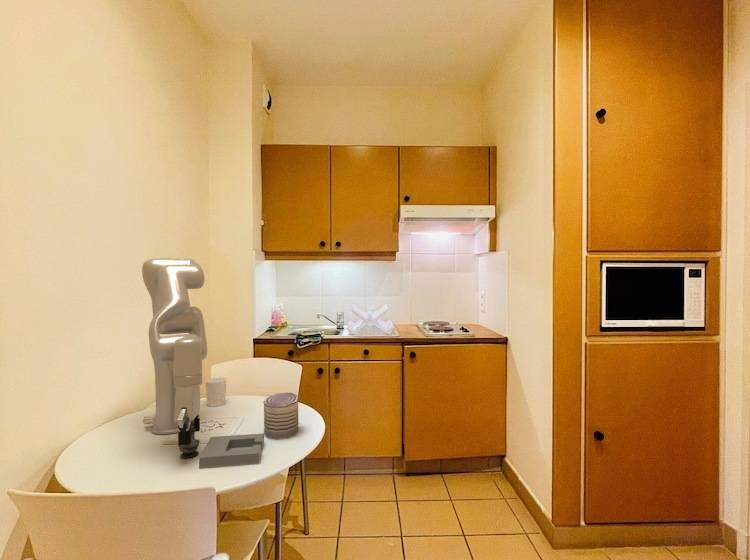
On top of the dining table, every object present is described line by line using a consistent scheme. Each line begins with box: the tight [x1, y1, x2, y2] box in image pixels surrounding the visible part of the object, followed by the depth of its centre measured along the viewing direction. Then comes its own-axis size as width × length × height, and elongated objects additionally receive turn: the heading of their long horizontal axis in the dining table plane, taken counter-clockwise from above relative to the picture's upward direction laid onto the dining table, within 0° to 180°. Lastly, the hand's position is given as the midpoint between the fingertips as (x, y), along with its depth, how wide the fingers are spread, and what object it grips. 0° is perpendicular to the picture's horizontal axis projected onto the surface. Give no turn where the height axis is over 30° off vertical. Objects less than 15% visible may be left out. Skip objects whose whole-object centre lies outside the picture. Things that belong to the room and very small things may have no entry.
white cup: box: [205, 376, 227, 408], centre depth 165 cm, size 8×8×10 cm
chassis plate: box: [198, 432, 265, 469], centre depth 120 cm, size 16×14×3 cm
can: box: [262, 392, 300, 441], centre depth 136 cm, size 11×11×12 cm
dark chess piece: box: [177, 420, 201, 460], centre depth 119 cm, size 6×6×12 cm
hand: (189, 437), depth 119 cm, fingers open, 9 cm apart
